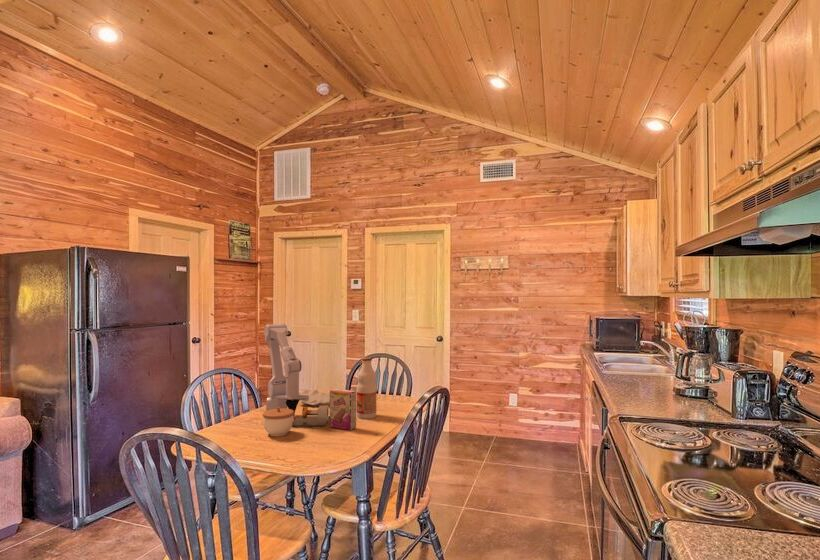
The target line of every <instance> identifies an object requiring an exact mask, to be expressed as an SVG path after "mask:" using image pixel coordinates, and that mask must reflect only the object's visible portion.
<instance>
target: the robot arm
mask: <svg viewBox="0 0 820 560" xmlns="http://www.w3.org/2000/svg"><path fill="white" fill-rule="evenodd" d="M263 334H264V341H265V343H267V344H268V348H269V349H268V350H269V356H270V364H271V371H272V377H271V379H269V381H268V383H267V394H268V397H267V398H266V404H265V405H266V407H265V409H266V410H265V411H267V410H271V409H277V407H280V408H286V409H291V410H293V411H294V416H295V414H296V410H297V407H298V405H299V403H300V401H299V400H306V401H308V400H309V396H307V395H299V393H300V372H301V371H302V367H303V366H302V362H301V359H299V357H297V355H296V354H295V351H294V349H293V347H291V346H290V345H289V342H288V339H287V336H288V335H287V334H288V326H287V324H286V323H275V324H269V323H268V324H266V325H265V326H264V329H263ZM280 349H281V350H280ZM282 360H283V363H284V364H283V363H282ZM283 368H284V369H283ZM283 370H284V371H283Z"/></svg>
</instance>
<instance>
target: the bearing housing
mask: <svg viewBox="0 0 820 560" xmlns="http://www.w3.org/2000/svg"><path fill="white" fill-rule="evenodd" d="M317 410H318V415H311V416H307V418H302V415H301V416H300V415H299V416H297V417H296V418H295V420H294V419H293V425H292V427H291V428H326V426H327V424H328V422H330V407H329V406H318V408H317Z"/></svg>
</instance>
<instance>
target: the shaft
mask: <svg viewBox="0 0 820 560" xmlns="http://www.w3.org/2000/svg"><path fill="white" fill-rule="evenodd" d="M301 416H302V418H307V416H318V409H309V408H308V407H307V406H304V407H302V411H301Z"/></svg>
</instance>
